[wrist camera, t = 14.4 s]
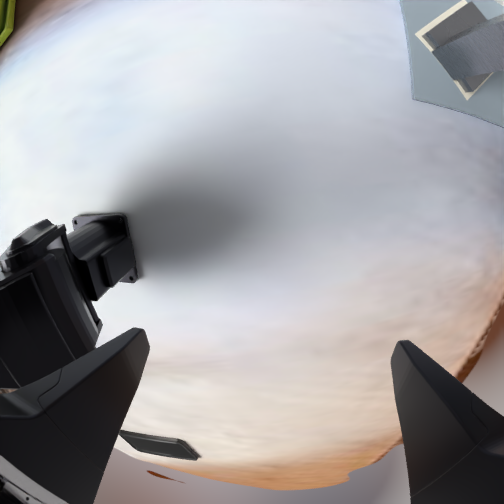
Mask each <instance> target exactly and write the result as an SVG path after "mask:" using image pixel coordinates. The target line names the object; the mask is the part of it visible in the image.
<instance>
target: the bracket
mask: <svg viewBox="0 0 504 504" xmlns="http://www.w3.org/2000/svg"><path fill="white" fill-rule="evenodd" d="M422 37H423V38H424V39H425V41H426V42H427V43H428V44H429V45H430V46H431V47H432V49H433V51H432V54H433V55H434V56H435V57H436V59H437V60H438V61H439V62H440V64H441V65H442V66H443V67H444V69H445V70H446V71H447V73H448V74H449V75H450V77H451V78H452V79H453V80H457V81H458V82H459V84H460V85H461V87H462V88H463V90H464V91H465V93H467V92H474V91H475V90H476V89H477V88H478V86H479V85H480V84H481V83H482V82H483V81H484V80H485V79H486V78H487V77H488V76H489V75H490V74H491V73H492V72H496V71H502V70H504V14H501V15H499V16H496V17H494V18H491V19H489V20H487V19H486V18H485V16H484V15H483V14H482V13H481V11H480V10H479V9H478V8H477V7H476V5H475V4H474V3H473V2H472V1H471V2H469V3H467V4H465V5H464V6H462V7H461V8H460V9H458V10H457V11H455V12H454V13H452V14H451V15H449V16H448V17H447V18H445V19H444V20H442V21H441V22H440V23H438V24H437V25H436V26H434V27H433V28H432V29H430V30H429V31H427V32H426V33H425V34H424V35H422Z"/></svg>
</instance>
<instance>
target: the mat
mask: <svg viewBox="0 0 504 504" xmlns="http://www.w3.org/2000/svg"><path fill="white" fill-rule="evenodd" d="M471 1H472V2H473V3H474V4H475V5H476V7H477V8H478V9H479V10H480V11H481V13H482V14H483V15H484V16H485V18H486V19H487V20H489V19H491V18H494V17H496V16H499V15H501V14H504V6H502V5H501V4H499V3H497V2H496V1H494V0H400V5H401V9H402V14H403V19H404V25H405V31H406V37H407V44H408V51H409V60H410V70H411V83H412V99H413V100H418V101H422V102H426V103H430V104H434V105H438V106H442V107H445V108H449V109H452V110H456V111H459V112H462V113H465V114H468V115H471V116H474V117H477V118H480V119H483V120H485V121H488V122H491V123H493V124H496V125H498V126H501V127H503V128H504V70H502V71H496V72H492V73H491V74H490V75H489V76H488V77H487V78H486V79H485V80H484V81H483V82H482V83H481V84H480V85H479V86H478V88H477V89H476V90H475V91H474V92H467V93H465V91H464V90H463V88H462V87H461V85H460V84H459V82H458V81H457V80H453V79H452V78H451V77H450V75H449V74H448V73H447V71H446V70H445V69H444V67H443V66H442V65H441V64H440V62H439V61H438V60H437V59H436V57H435V56H434V55H433V54H432V51H433V49H432V47H431V46H430V45H429V44H428V43H427V42H426V41H425V39H424V38H423V37H422V35H424V34H425V33H426V32H427V31H429V30H430V29H432V28H433V27H434V26H436V25H437V24H438V23H440V22H441V21H442V20H444V19H445V18H447V17H448V16H449V15H451V14H452V13H454V12H455V11H457V10H458V9H460V8H461V7H462V6H464V5H465V4H467V3H469V2H471Z"/></svg>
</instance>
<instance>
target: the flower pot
mask: <svg viewBox="0 0 504 504" xmlns="http://www.w3.org/2000/svg"><path fill="white" fill-rule="evenodd" d="M15 2H16V0H0V47H1V45H2V44H3V43H4V41H5V40H6V39H7V37H8V36H9V35H10V34H11V32H12V31H13V25H14V12H15Z"/></svg>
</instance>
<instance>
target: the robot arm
mask: <svg viewBox="0 0 504 504" xmlns="http://www.w3.org/2000/svg"><path fill="white" fill-rule="evenodd" d="M120 218H121V219H122V222H121V221H120ZM77 222H78V223H77ZM72 223H73V228H74V231H73V232H71V233H69V234H68V235H66V227H65V224H62V225H58V226H57V225H54V224H52V223H51V222H50V221H49V220H48V219H45V220H42V221H40V222H38V223H36V224H34V225H32V226H31V227H29V228H27V229H26V230H24V231H23V232H22V233H20V234H19V235H18V236H16V237H15V238H14V239H13V241H12V243H11V245H10V246H9V247H8V249H7V250H6V251H5V252H4V253H3V254H2V256H1V257H0V389H12V390H15V391H12V392H10V393H4V394H0V504H65V503H66V502H67V503H69V504H93V503H94V500H95V497H96V494H97V491H98V488H99V485H100V482H101V480H102V476H103V474H104V471H105V468H106V465H107V463H108V460H109V457H110V455H111V452H112V449H113V447H114V444H115V442H116V439H117V437H118V434H119V431H120V429H121V427H122V424H123V422H124V419H125V417H126V414H127V412H128V409H129V407H130V405H131V402H132V400H133V397H134V395H135V393H136V390H137V388H138V386H139V383H140V380H141V377H142V373H143V370H144V367H145V364H146V360H147V357H148V354H149V350H150V346H149V342H148V339H147V336H146V333H145V330H144V329H141V328H132V329H130V330H128V331H126V332H125V333H123V334H121V335H119V336H118V337H116V338H114V339H112V340H111V341H109V342H107V343H105V344H103V345H102V346H100V347H98V348H96V347H95V345H96V342H97V339H98V336H99V334H100V331H101V328H102V326H103V324H102V322H101V319H99V318H98V316H97V313H96V311H95V309H94V307H93V305H92V301H98V300H99V299H100V298H101V297H102V296H103V295H104V294H105V293H106V292H107V291H108V290H109V289H110V288H113V287H114V286H115V285H116V284H117V283H118V282H126V283H135V282H136V281H137V280H138V275H137V270H136V266H135V265H136V263H135V258H134V253H133V247H132V242H131V239H130V234H129V228H128V222H127V218H126V216H125V215H124V214H104V215H87V216H76V217H74V218H73V220H72ZM131 276H132V277H133V278H134V279H133V278H132V277H131ZM391 369H392V377H393V385H394V394H395V401H396V406H397V411H398V416H399V421H400V426H401V431H402V437H403V443H404V449H405V455H406V462H407V469H408V478H409V487H410V496H411V498H410V499H411V504H504V416H502V415H501V414H499V413H498V412H496V411H495V410H494V409H492V408H491V407H490V406H488V405H487V404H486V403H485V402H483V401H482V400H481V399H480V398H479V397H477V396H476V395H475V394H474V393H472V392H471V391H470V390H469V389H468V388H467V387H465V386H464V385H463V384H462V383H461V382H460V381H458V380H457V379H456V378H455V377H454V376H452V375H451V374H450V373H449V372H448V371H446V370H445V369H444V368H443V367H442V366H440V365H439V364H438V363H437V362H435V361H434V360H433V359H432V358H431V357H429V356H428V355H427V354H426V353H424V352H423V351H422V350H421V349H419V348H418V347H417V346H416V345H414V344H413V343H412V342H411V341H409V340H400V341H398V342H397V344H396V346H395V349H394V352H393V354H392V357H391Z"/></svg>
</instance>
